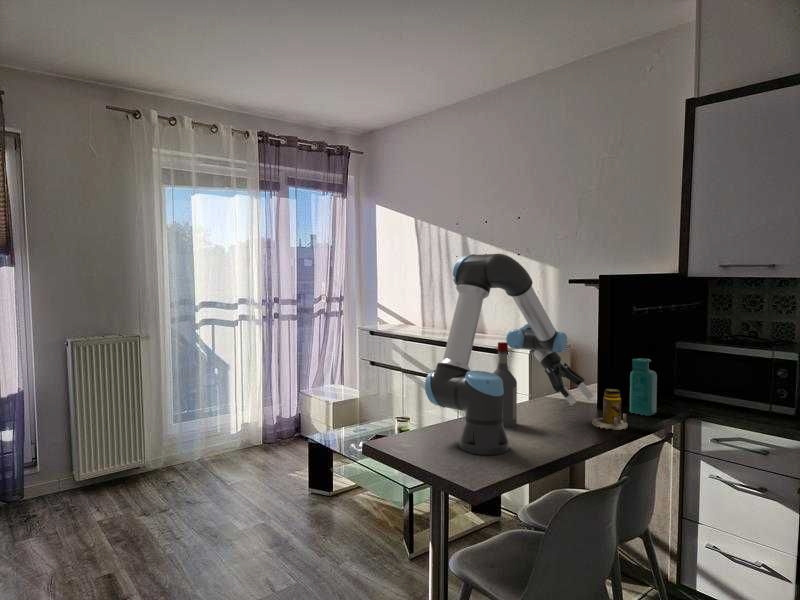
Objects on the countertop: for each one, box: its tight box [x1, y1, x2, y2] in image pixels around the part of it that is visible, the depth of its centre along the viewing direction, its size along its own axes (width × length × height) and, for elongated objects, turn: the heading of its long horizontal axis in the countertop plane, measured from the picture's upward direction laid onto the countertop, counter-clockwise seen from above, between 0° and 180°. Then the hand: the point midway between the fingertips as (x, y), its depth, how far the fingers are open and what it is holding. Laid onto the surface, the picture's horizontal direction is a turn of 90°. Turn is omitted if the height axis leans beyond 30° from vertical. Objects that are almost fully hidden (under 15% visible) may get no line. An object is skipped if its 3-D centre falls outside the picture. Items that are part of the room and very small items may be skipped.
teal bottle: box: [629, 358, 658, 417], centre depth 210 cm, size 10×8×22 cm
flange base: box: [591, 413, 629, 431], centre depth 192 cm, size 12×12×4 cm
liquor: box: [492, 341, 518, 428], centre depth 193 cm, size 9×9×30 cm
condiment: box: [595, 388, 623, 426], centre depth 191 cm, size 7×8×12 cm
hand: (583, 400), depth 199 cm, fingers open, 13 cm apart
